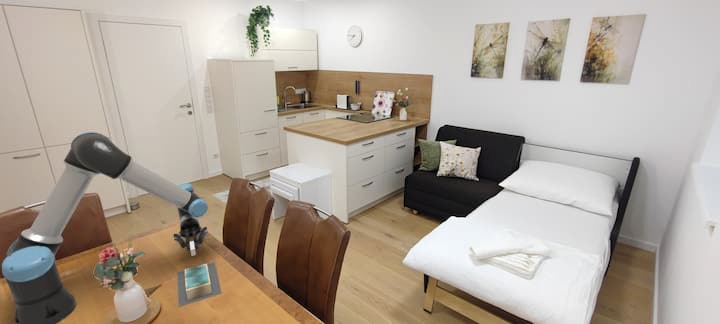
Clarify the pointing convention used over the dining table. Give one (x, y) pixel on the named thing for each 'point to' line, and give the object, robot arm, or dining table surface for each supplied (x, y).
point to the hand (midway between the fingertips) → (193, 252)
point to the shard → (151, 290)
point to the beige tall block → (197, 281)
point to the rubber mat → (215, 291)
